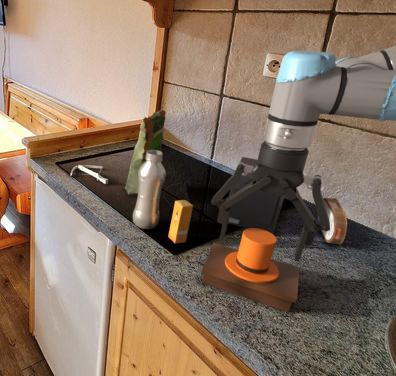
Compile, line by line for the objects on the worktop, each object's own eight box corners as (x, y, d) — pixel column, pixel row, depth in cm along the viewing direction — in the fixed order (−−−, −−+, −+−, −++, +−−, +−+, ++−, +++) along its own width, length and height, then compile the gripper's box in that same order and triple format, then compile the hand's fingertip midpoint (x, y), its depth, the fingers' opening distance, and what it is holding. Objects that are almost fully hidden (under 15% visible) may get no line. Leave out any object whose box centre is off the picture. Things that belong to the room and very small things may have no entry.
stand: (294, 282, 84) (299, 267, 82) (291, 314, 75) (297, 297, 74) (210, 257, 92) (213, 242, 90) (199, 283, 83) (202, 267, 81)
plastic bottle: (138, 216, 108) (147, 145, 99) (162, 224, 104) (173, 152, 96) (127, 226, 103) (135, 152, 95) (151, 235, 100) (162, 159, 91)
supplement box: (187, 242, 97) (194, 205, 93) (174, 244, 96) (181, 207, 92) (180, 235, 100) (186, 199, 96) (167, 236, 99) (173, 200, 95)
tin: (341, 251, 95) (353, 220, 92) (326, 248, 96) (337, 217, 93) (326, 221, 108) (335, 193, 105) (312, 219, 109) (322, 191, 106)
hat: (280, 262, 84) (289, 231, 80) (276, 289, 76) (286, 256, 72) (229, 248, 88) (236, 218, 85) (220, 272, 80) (228, 240, 77)
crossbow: (62, 173, 135) (62, 167, 134) (92, 166, 141) (92, 160, 141) (90, 188, 123) (90, 182, 122) (122, 180, 129) (122, 174, 128)
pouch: (153, 184, 127) (164, 105, 116) (167, 201, 116) (181, 116, 106) (119, 185, 126) (127, 106, 115) (130, 203, 115) (139, 117, 104)
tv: (277, 212, 112) (291, 165, 106) (272, 236, 101) (287, 185, 95) (232, 201, 117) (242, 156, 112) (222, 222, 106) (233, 174, 100)
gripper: (207, 137, 73) (189, 237, 82) (374, 165, 62) (332, 277, 71) (215, 127, 79) (198, 222, 88) (369, 151, 68) (331, 256, 77)
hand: (258, 247), depth 80 cm, fingers open, 13 cm apart
